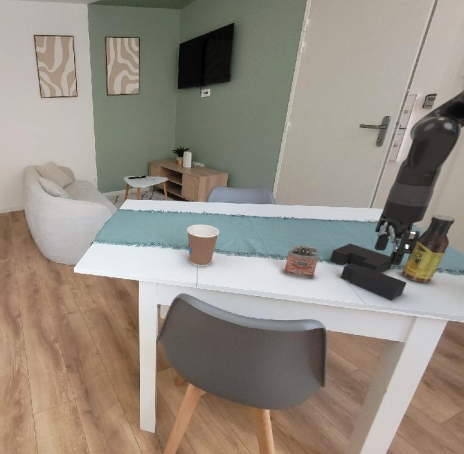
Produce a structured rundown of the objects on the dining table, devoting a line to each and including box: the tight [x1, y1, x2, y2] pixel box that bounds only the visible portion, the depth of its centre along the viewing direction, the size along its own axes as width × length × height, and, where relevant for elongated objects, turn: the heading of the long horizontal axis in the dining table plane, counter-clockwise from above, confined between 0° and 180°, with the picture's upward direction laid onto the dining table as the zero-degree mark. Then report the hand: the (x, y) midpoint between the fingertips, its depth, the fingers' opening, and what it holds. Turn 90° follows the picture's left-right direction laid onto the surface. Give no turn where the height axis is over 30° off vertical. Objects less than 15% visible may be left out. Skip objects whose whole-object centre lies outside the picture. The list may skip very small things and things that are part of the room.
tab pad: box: [340, 263, 407, 301], centre depth 84 cm, size 6×13×4 cm, turn 26°
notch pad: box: [329, 243, 392, 273], centre depth 94 cm, size 12×10×4 cm
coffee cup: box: [186, 224, 220, 267], centre depth 100 cm, size 10×10×12 cm
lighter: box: [283, 244, 320, 280], centre depth 90 cm, size 8×3×10 cm, turn 65°
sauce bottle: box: [402, 214, 456, 283], centre depth 83 cm, size 7×6×20 cm
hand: (386, 256), depth 79 cm, fingers open, 8 cm apart
